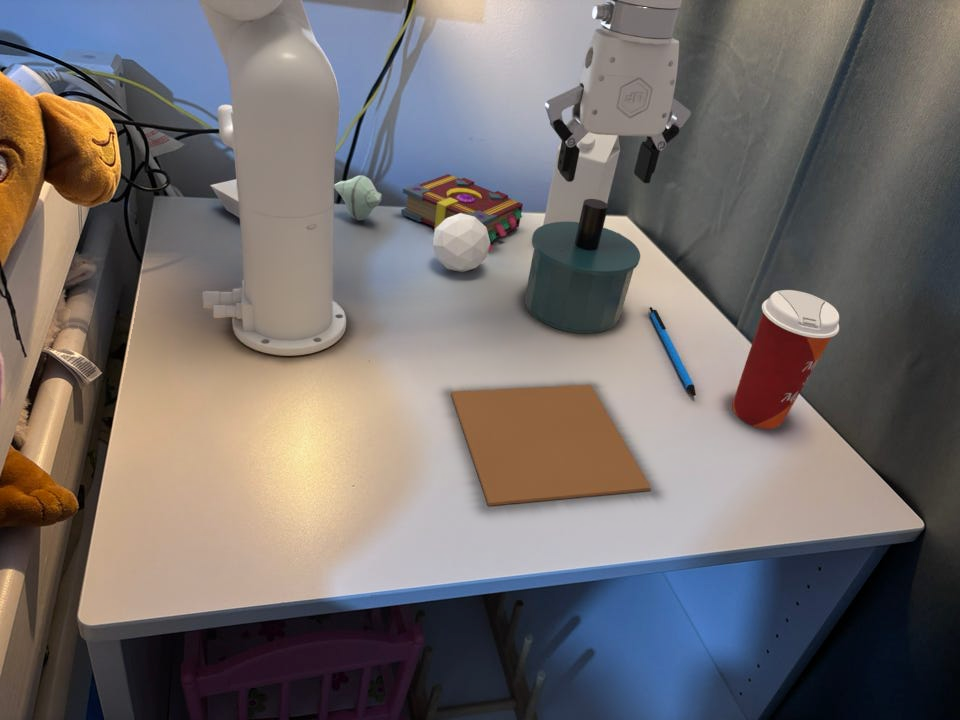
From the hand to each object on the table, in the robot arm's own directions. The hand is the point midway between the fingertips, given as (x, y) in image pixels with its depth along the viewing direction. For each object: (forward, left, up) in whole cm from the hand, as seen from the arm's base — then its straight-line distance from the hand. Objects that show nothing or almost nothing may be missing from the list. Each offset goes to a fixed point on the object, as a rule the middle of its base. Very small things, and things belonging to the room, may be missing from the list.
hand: (604, 178), depth 85 cm
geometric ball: (-13, +11, -18) cm, 25 cm away
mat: (-12, -25, -18) cm, 33 cm away
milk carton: (+6, +18, -18) cm, 26 cm away
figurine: (-41, +28, -18) cm, 53 cm away
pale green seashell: (-25, +26, -18) cm, 40 cm away
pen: (+9, -11, -18) cm, 23 cm away
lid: (0, 0, -9) cm, 9 cm away
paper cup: (+14, -23, -18) cm, 32 cm away
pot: (0, 0, -18) cm, 18 cm away
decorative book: (-9, +25, -18) cm, 32 cm away
